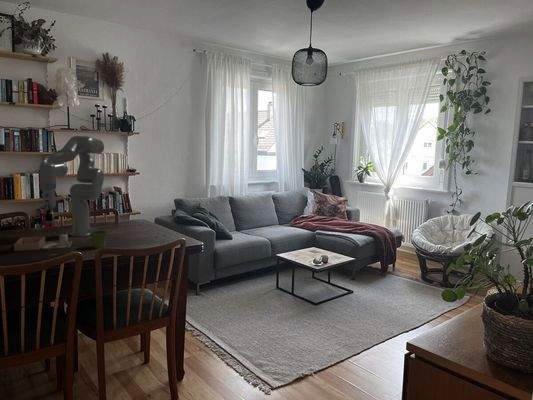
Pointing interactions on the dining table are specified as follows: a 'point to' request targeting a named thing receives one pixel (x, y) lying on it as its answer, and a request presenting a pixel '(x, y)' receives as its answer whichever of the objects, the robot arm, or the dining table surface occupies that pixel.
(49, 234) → the dining table surface
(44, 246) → the birch tray
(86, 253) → the dining table surface
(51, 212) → the pebble dark
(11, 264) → the dining table surface
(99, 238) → the plant pot
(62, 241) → the pebble grey
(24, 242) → the brown shallow rectangular tray
